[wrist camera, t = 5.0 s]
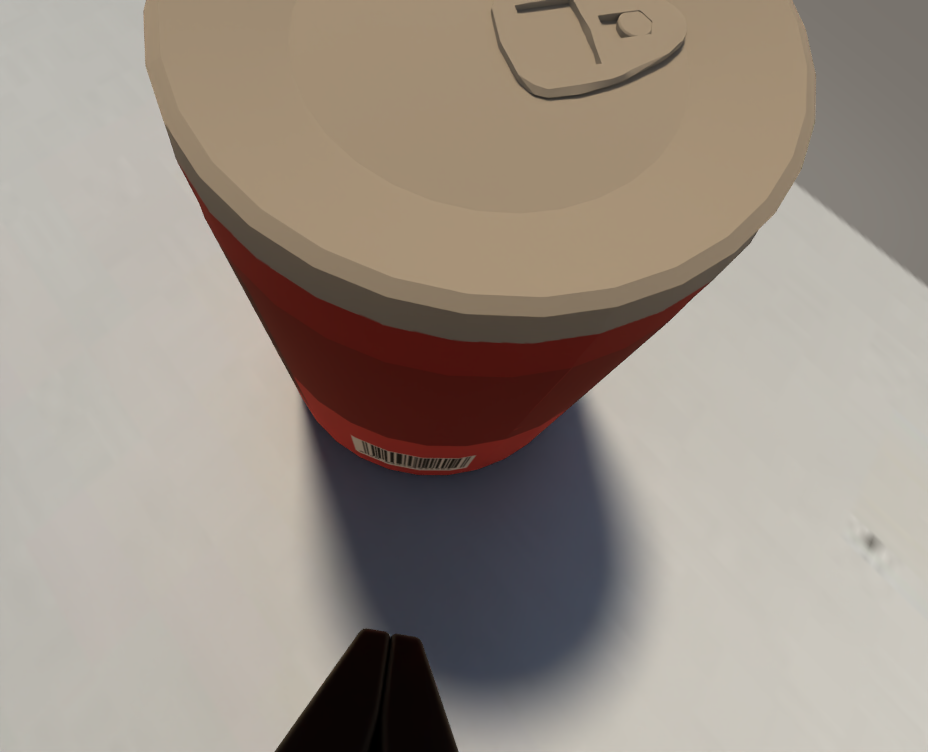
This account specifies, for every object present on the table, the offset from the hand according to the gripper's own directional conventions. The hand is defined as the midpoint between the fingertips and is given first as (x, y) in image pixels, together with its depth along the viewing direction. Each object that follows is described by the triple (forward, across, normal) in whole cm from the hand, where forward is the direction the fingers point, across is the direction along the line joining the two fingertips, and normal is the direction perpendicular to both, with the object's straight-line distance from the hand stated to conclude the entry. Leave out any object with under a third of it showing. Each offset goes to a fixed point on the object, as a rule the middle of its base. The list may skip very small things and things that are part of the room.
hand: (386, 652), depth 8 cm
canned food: (+10, 0, -1) cm, 10 cm away
